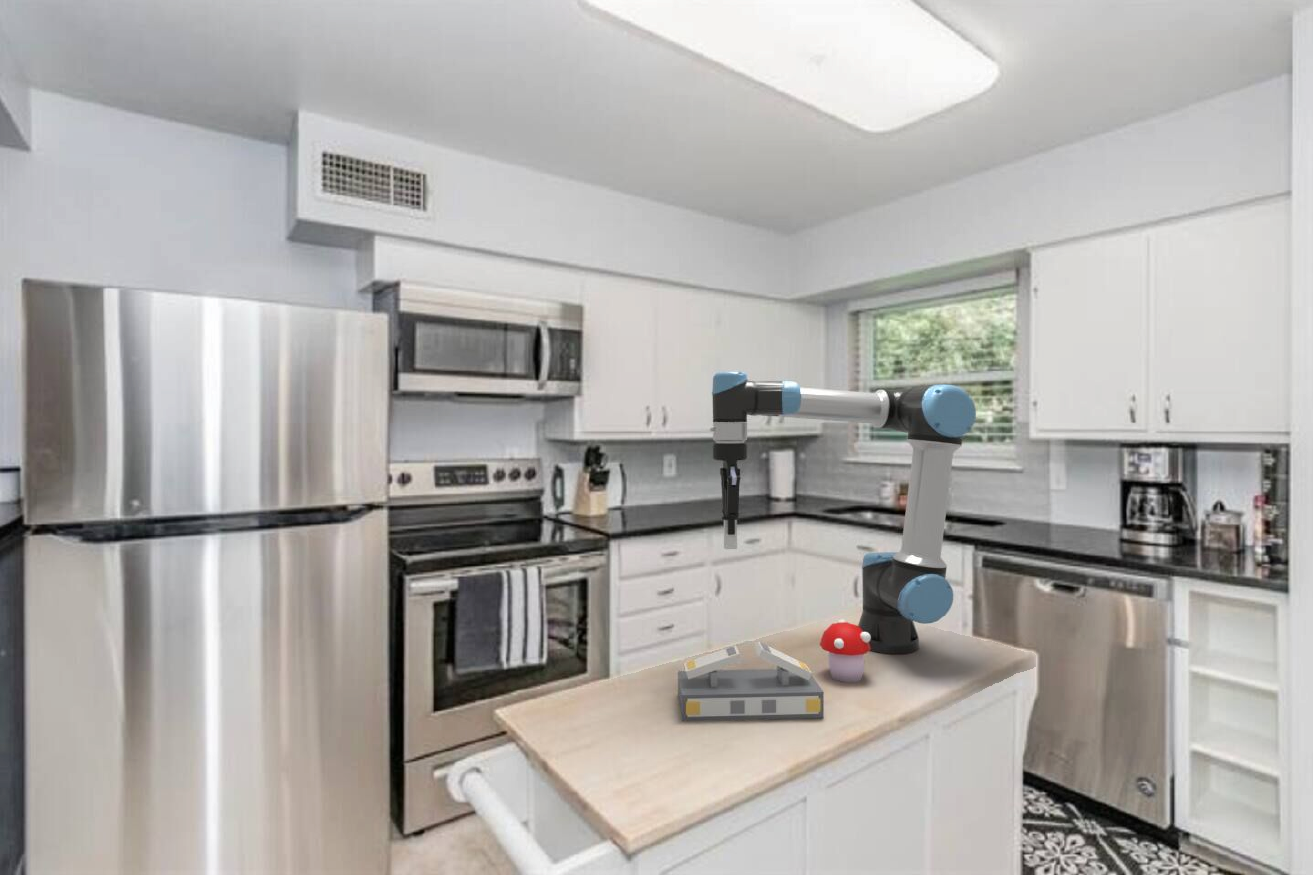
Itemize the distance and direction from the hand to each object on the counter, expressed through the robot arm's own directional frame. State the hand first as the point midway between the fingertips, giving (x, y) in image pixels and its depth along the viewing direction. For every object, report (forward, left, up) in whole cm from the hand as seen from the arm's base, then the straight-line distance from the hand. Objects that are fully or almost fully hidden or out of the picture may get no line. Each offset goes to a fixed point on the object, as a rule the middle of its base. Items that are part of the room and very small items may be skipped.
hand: (730, 548), depth 148 cm
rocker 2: (-8, +16, -19) cm, 26 cm away
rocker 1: (+6, +16, -19) cm, 26 cm away
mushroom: (-25, +2, -29) cm, 38 cm away
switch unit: (-1, +16, -28) cm, 33 cm away
